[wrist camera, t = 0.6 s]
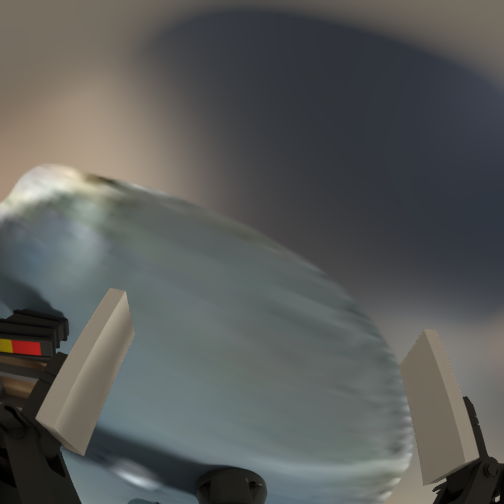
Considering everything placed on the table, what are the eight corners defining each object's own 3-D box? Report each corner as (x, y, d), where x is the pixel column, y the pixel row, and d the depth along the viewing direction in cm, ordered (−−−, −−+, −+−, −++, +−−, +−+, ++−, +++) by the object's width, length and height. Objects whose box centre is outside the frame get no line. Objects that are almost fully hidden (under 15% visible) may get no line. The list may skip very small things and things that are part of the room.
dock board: (73, 414, 45) (71, 417, 44) (5, 399, 44) (3, 401, 43) (57, 362, 44) (55, 364, 43) (-10, 352, 43) (-13, 353, 42)
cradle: (63, 410, 44) (55, 420, 40) (5, 396, 43) (-4, 404, 39) (51, 371, 43) (41, 379, 39) (-7, 360, 42) (-17, 367, 38)
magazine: (8, 305, 41) (-14, 332, 28) (69, 309, 48) (64, 339, 35) (10, 323, 41) (-10, 356, 29) (70, 328, 48) (66, 362, 35)
